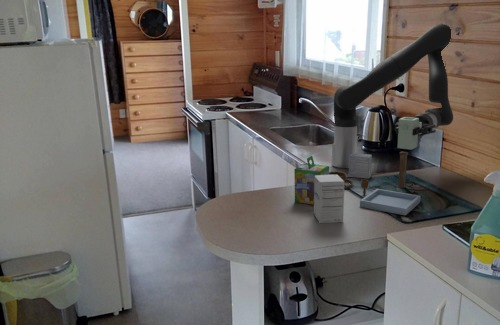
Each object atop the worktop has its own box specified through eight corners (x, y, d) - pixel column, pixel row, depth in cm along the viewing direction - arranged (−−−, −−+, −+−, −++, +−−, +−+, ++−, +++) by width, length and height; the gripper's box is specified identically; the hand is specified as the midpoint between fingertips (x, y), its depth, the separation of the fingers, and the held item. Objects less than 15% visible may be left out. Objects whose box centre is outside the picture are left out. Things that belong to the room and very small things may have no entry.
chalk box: (319, 206, 150) (320, 161, 147) (293, 202, 155) (293, 158, 151) (329, 198, 158) (330, 155, 154) (304, 194, 163) (304, 153, 159)
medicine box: (371, 176, 183) (372, 154, 181) (369, 179, 179) (370, 157, 177) (351, 174, 186) (351, 153, 184) (348, 177, 182) (349, 155, 180)
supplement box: (313, 214, 143) (313, 174, 140) (337, 213, 144) (338, 173, 141) (318, 223, 136) (319, 181, 133) (343, 222, 137) (345, 180, 134)
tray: (359, 206, 150) (360, 200, 149) (376, 194, 161) (377, 188, 160) (405, 215, 141) (406, 208, 141) (420, 202, 153) (420, 195, 152)
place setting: (356, 181, 179) (357, 166, 177) (371, 198, 159) (371, 181, 158) (310, 182, 178) (310, 167, 177) (319, 199, 159) (319, 183, 158)
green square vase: (396, 148, 161) (397, 119, 158) (403, 145, 165) (404, 116, 163) (410, 150, 158) (412, 120, 155) (417, 146, 162) (418, 118, 160)
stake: (397, 187, 168) (399, 152, 165) (399, 185, 170) (401, 151, 167) (403, 188, 167) (406, 153, 164) (406, 186, 169) (408, 152, 166)
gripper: (404, 112, 174) (385, 118, 162) (444, 114, 165) (427, 122, 153) (403, 131, 176) (384, 140, 164) (442, 135, 167) (426, 144, 155)
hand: (405, 131), depth 158 cm, fingers closed on green square vase, 5 cm apart
